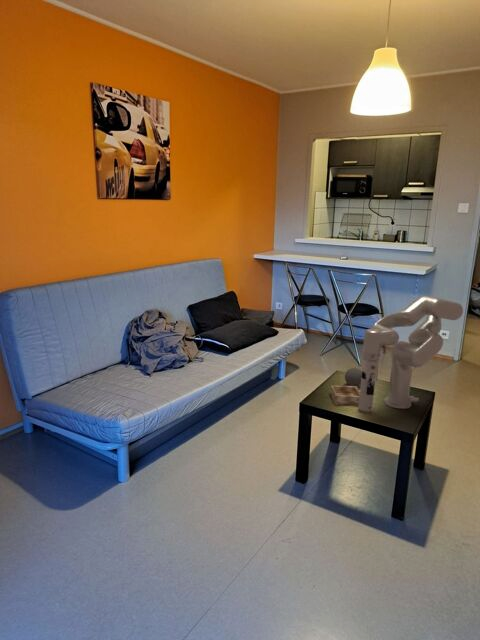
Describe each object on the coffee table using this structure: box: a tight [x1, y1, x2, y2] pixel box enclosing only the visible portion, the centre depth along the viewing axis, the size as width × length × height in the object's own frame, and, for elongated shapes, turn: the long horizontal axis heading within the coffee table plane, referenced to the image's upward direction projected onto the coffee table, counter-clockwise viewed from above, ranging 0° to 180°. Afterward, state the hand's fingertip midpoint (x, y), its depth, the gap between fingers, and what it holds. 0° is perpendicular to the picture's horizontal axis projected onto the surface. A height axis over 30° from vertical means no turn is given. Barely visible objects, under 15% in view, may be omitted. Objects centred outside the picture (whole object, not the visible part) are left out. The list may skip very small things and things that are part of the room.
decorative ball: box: [344, 367, 362, 387], centre depth 241 cm, size 10×10×10 cm
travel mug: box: [358, 372, 375, 414], centre depth 210 cm, size 6×7×20 cm
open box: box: [329, 385, 360, 406], centre depth 224 cm, size 13×13×4 cm
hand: (367, 390), depth 210 cm, fingers open, 8 cm apart
